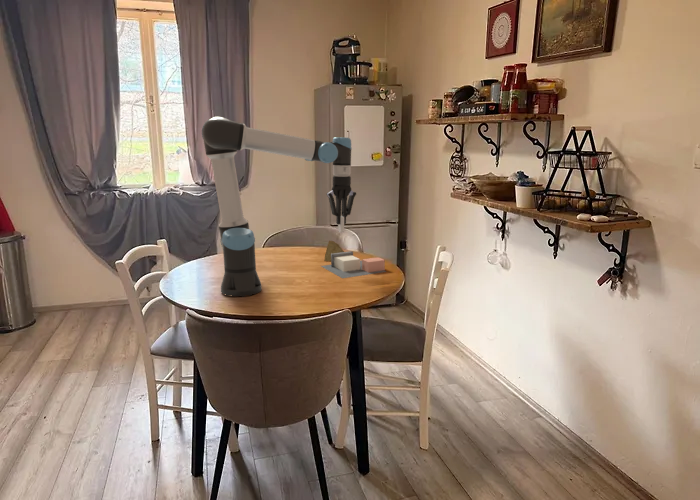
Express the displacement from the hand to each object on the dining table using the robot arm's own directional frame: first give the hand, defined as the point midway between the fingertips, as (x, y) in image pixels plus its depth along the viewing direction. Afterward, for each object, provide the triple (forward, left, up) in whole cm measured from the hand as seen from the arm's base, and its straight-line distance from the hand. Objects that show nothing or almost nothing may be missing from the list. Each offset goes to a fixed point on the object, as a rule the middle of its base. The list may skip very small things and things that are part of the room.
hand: (341, 231), depth 212 cm
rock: (+6, +18, -18) cm, 26 cm away
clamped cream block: (+4, +4, -17) cm, 18 cm away
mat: (+5, 0, -18) cm, 19 cm away
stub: (+12, -6, -17) cm, 22 cm away
